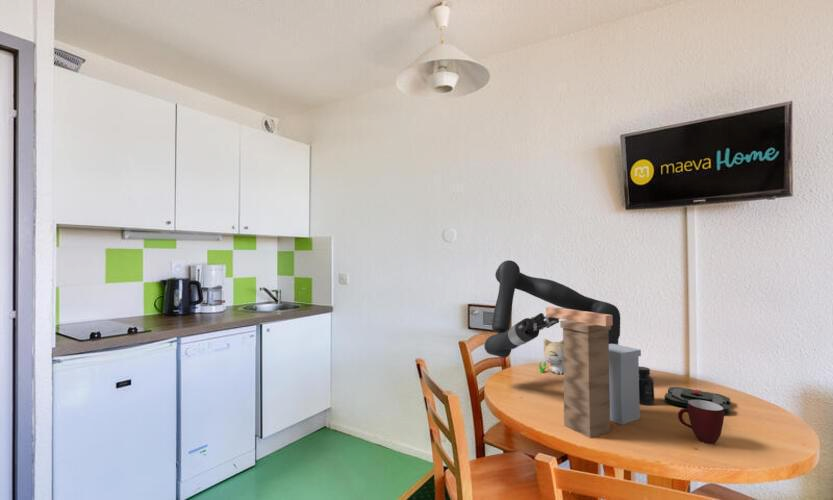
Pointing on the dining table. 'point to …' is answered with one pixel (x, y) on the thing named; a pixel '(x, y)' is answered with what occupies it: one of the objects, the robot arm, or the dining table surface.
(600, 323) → the terracotta bar
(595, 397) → the tall pedestal
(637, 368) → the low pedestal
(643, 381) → the supplement bottle
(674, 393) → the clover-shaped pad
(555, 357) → the kitten
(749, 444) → the dining table surface
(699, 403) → the mug
